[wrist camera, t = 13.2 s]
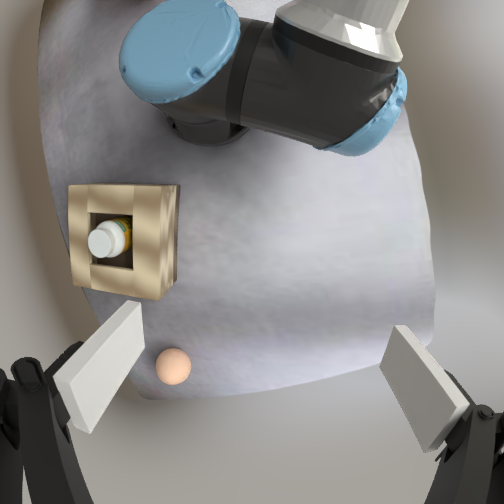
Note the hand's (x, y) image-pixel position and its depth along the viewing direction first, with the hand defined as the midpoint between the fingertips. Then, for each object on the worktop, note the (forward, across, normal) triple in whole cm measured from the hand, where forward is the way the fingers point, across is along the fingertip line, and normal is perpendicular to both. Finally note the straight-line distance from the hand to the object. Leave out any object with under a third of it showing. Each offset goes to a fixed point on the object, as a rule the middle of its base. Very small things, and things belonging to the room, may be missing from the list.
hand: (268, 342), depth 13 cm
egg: (+32, -14, -26) cm, 43 cm away
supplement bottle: (+30, -22, -2) cm, 37 cm away
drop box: (+32, -22, -2) cm, 39 cm away
